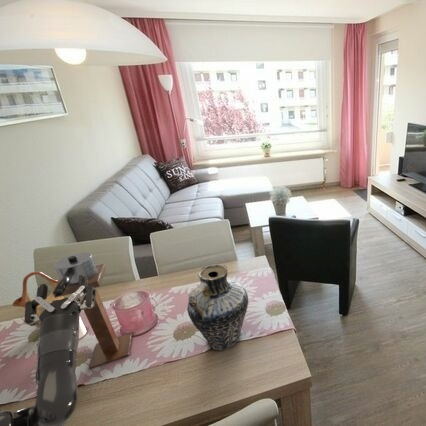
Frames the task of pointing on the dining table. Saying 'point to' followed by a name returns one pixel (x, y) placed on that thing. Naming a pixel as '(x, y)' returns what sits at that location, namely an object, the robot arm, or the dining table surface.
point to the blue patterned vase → (218, 307)
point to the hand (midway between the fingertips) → (63, 280)
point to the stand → (102, 325)
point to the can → (81, 329)
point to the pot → (74, 270)
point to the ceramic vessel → (25, 297)
